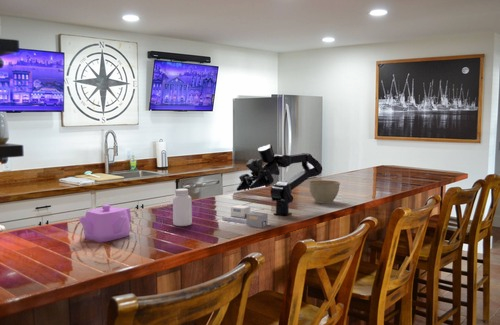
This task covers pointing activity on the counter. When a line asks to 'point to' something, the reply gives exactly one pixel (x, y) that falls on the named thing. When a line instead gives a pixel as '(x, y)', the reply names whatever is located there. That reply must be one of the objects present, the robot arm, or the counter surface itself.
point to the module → (240, 211)
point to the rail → (238, 221)
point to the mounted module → (257, 218)
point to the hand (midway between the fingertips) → (243, 188)
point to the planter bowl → (324, 190)
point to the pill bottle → (182, 208)
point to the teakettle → (106, 223)
